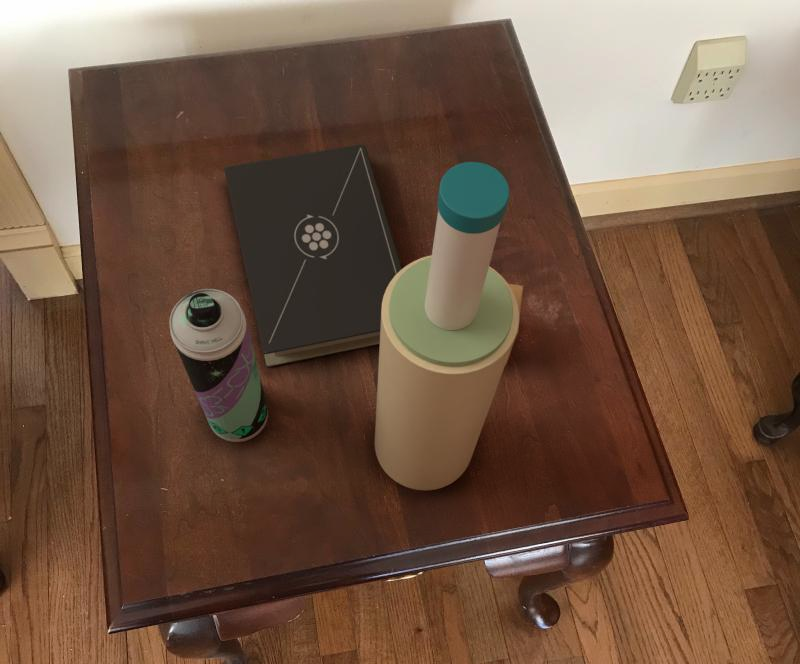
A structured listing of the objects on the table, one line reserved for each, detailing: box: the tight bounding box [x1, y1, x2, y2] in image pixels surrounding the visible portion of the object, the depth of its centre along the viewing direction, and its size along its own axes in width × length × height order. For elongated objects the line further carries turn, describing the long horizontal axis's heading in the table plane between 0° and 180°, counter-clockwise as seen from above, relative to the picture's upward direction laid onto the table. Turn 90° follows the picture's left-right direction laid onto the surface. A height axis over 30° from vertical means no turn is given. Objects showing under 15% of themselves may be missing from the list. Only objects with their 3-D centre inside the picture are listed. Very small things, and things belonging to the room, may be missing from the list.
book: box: [223, 143, 403, 368], centre depth 82 cm, size 22×15×3 cm
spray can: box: [169, 288, 269, 443], centre depth 67 cm, size 6×6×20 cm
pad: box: [389, 257, 513, 366], centre depth 54 cm, size 8×8×1 cm
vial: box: [425, 161, 510, 330], centre depth 48 cm, size 11×4×11 cm
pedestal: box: [374, 254, 520, 491], centre depth 65 cm, size 9×9×24 cm
